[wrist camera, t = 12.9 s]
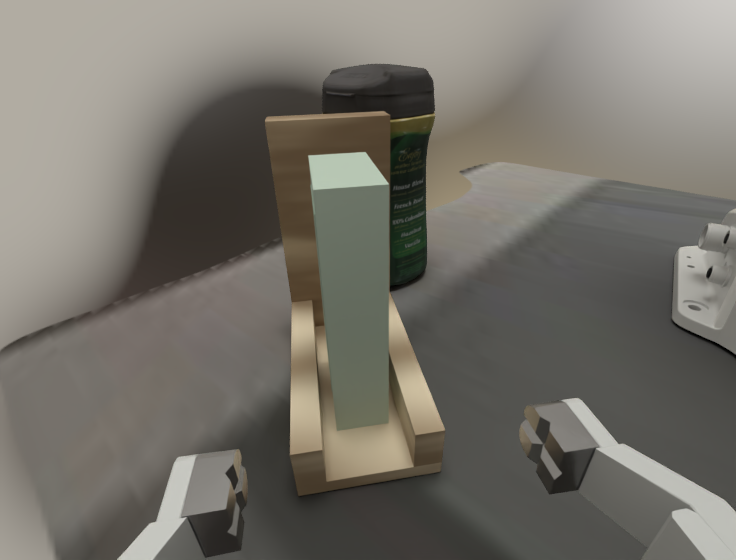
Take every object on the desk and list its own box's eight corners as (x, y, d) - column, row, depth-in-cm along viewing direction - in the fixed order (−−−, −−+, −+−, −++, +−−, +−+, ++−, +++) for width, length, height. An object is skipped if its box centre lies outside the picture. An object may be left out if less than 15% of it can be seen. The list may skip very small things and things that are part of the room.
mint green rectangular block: (328, 360, 27) (307, 155, 20) (371, 354, 28) (366, 151, 20) (336, 431, 22) (311, 190, 15) (389, 422, 22) (390, 184, 15)
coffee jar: (439, 272, 39) (456, 62, 30) (379, 300, 35) (377, 66, 26) (378, 241, 46) (376, 62, 36) (322, 262, 42) (303, 65, 32)
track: (296, 322, 32) (267, 116, 24) (384, 312, 33) (384, 111, 25) (298, 496, 20) (236, 185, 12) (440, 471, 21) (475, 168, 12)
